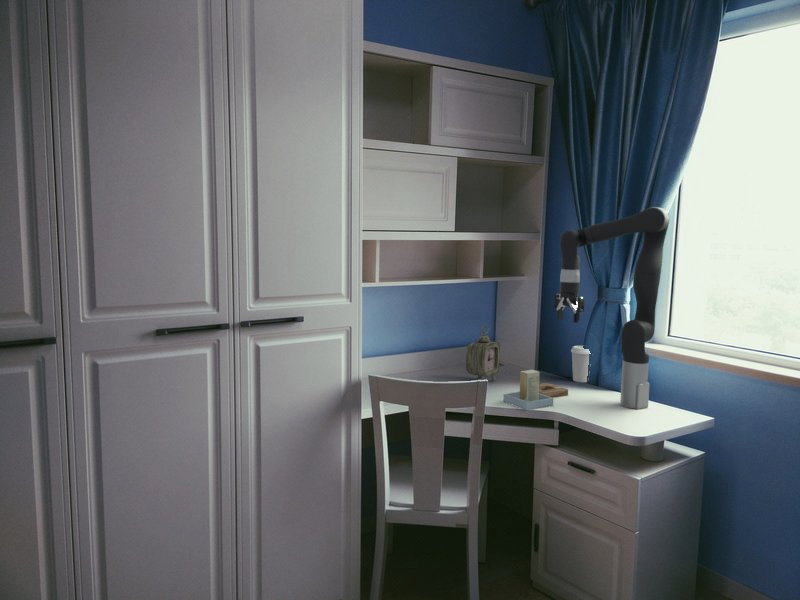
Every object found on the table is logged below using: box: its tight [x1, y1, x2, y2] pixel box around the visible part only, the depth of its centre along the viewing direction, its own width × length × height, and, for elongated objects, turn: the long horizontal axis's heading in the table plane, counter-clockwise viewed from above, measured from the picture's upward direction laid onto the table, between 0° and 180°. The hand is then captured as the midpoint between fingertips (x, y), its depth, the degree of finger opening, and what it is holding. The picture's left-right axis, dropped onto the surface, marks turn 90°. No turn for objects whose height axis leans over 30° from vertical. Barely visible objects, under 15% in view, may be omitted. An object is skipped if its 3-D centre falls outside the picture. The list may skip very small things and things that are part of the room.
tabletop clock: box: [465, 324, 501, 381], centre depth 269 cm, size 14×9×25 cm, turn 141°
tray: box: [502, 391, 554, 411], centre depth 238 cm, size 13×13×3 cm
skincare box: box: [519, 369, 540, 402], centre depth 237 cm, size 6×4×12 cm
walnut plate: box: [539, 382, 569, 399], centre depth 253 cm, size 12×14×2 cm
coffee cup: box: [570, 345, 591, 383], centre depth 276 cm, size 10×10×15 cm
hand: (567, 321), depth 249 cm, fingers open, 8 cm apart
